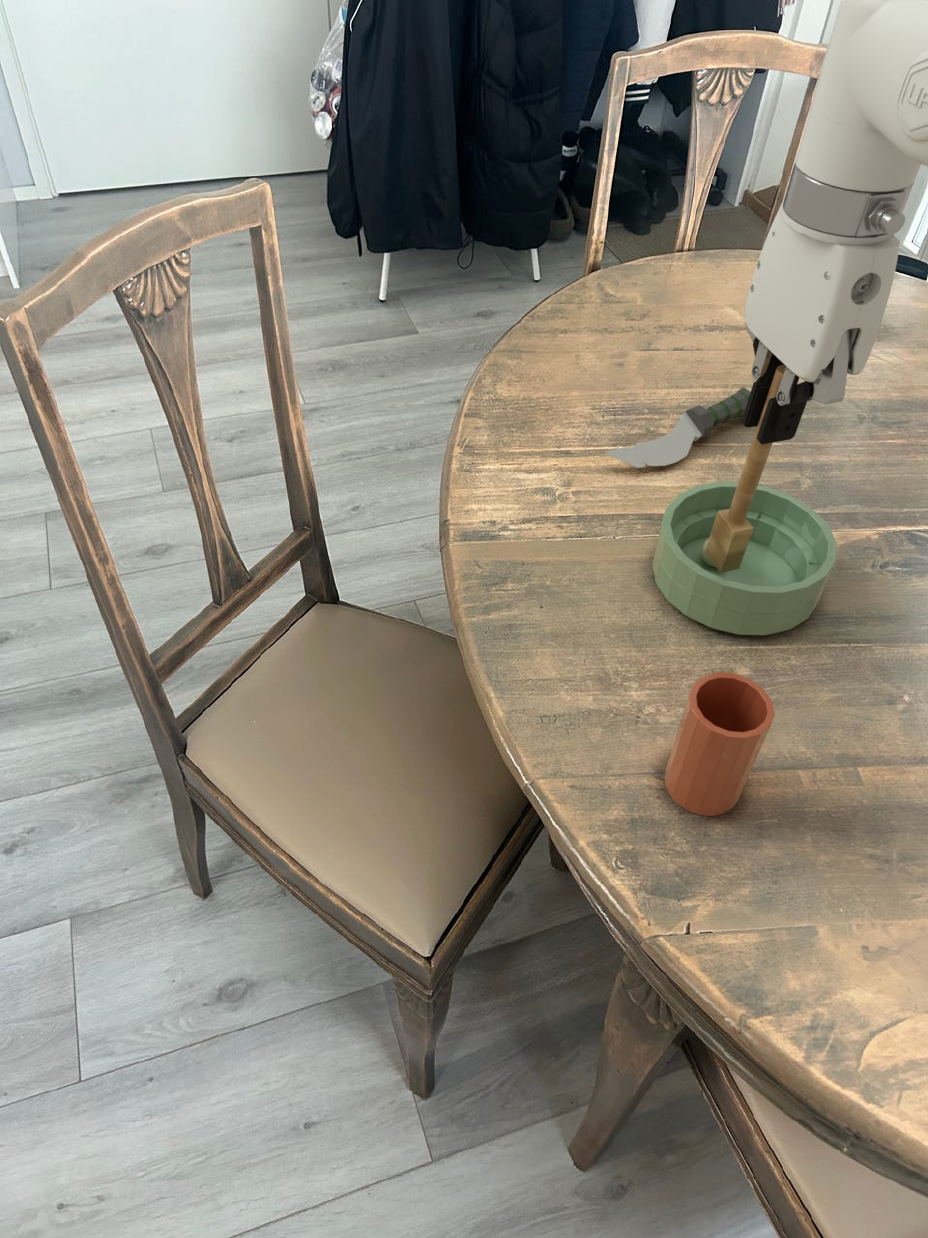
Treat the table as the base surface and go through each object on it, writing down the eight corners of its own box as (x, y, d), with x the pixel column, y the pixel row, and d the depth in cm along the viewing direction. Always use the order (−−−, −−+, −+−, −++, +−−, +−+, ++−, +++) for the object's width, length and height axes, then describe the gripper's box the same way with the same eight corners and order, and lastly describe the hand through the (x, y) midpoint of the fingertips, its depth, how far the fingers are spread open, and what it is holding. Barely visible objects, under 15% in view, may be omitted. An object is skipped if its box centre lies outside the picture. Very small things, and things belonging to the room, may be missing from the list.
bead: (740, 565, 84) (730, 550, 82) (710, 576, 86) (699, 562, 83) (733, 540, 86) (723, 525, 84) (704, 552, 87) (693, 537, 85)
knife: (635, 474, 92) (609, 437, 93) (619, 494, 96) (594, 458, 97) (778, 408, 102) (752, 375, 103) (757, 429, 105) (733, 396, 106)
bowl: (849, 619, 81) (872, 572, 77) (699, 655, 78) (713, 607, 74) (762, 517, 92) (777, 470, 87) (625, 544, 88) (635, 497, 84)
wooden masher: (739, 569, 81) (809, 378, 67) (720, 573, 81) (786, 382, 66) (723, 547, 83) (787, 358, 69) (704, 551, 83) (765, 361, 68)
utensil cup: (753, 805, 67) (790, 726, 60) (685, 824, 66) (714, 746, 59) (717, 746, 71) (747, 665, 64) (652, 763, 70) (675, 682, 63)
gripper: (970, 244, 54) (863, 482, 67) (826, 151, 64) (757, 374, 77) (866, 257, 52) (777, 499, 66) (735, 160, 62) (681, 386, 76)
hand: (767, 430), depth 71 cm, fingers closed on wooden masher, 1 cm apart
